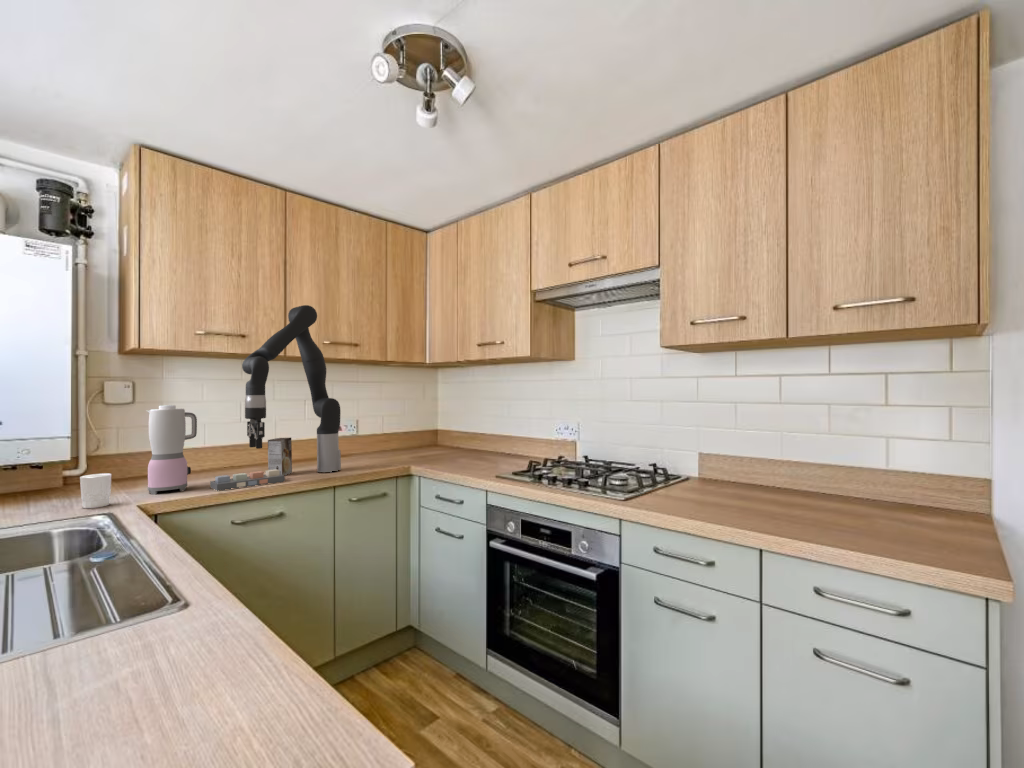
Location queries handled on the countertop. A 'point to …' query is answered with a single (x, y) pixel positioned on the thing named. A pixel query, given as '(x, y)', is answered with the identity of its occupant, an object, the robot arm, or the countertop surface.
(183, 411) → the blender
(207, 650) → the countertop surface
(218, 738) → the countertop surface
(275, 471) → the sand key
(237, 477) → the sage key
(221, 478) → the slate key
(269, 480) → the keypad
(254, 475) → the terracotta key
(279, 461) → the coffee box
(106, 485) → the white cup
